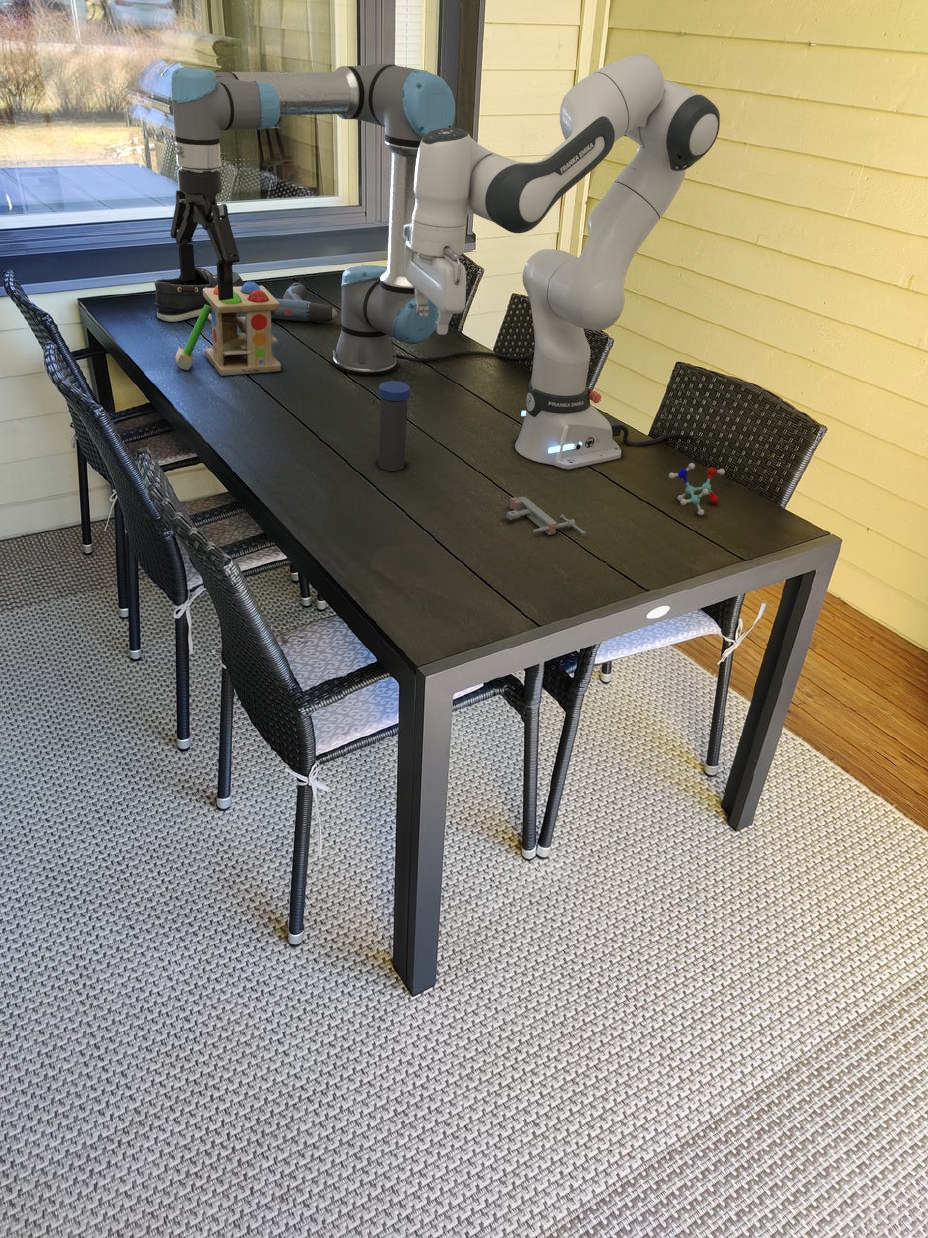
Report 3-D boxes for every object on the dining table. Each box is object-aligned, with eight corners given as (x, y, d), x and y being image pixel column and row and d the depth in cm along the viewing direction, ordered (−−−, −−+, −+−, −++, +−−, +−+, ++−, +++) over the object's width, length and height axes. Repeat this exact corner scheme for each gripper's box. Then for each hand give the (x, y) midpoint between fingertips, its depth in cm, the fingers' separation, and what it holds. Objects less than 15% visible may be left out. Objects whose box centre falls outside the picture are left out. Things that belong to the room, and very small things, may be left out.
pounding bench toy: (183, 379, 220) (176, 299, 210) (169, 357, 231) (162, 280, 221) (282, 371, 230) (280, 294, 220) (264, 350, 240) (262, 276, 230)
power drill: (344, 304, 276) (335, 327, 259) (277, 298, 275) (264, 321, 258) (344, 285, 273) (335, 306, 256) (277, 279, 272) (264, 300, 255)
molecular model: (729, 509, 182) (714, 457, 180) (679, 523, 185) (663, 472, 184) (733, 500, 192) (719, 451, 191) (686, 514, 196) (671, 466, 194)
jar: (388, 473, 191) (392, 395, 182) (373, 463, 194) (375, 386, 185) (409, 467, 194) (413, 390, 185) (393, 457, 197) (397, 382, 188)
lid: (391, 403, 182) (391, 394, 181) (373, 393, 185) (373, 384, 184) (415, 397, 185) (416, 388, 184) (397, 387, 189) (397, 379, 188)
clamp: (496, 500, 180) (542, 491, 184) (495, 510, 181) (540, 501, 185) (542, 538, 169) (588, 528, 174) (540, 549, 170) (586, 539, 175)
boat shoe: (262, 300, 274) (260, 262, 268) (174, 323, 250) (170, 282, 245) (229, 292, 279) (226, 254, 274) (139, 314, 256) (134, 273, 250)
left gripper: (145, 155, 179) (155, 274, 191) (217, 183, 164) (224, 310, 176) (182, 153, 183) (190, 269, 195) (256, 180, 169) (260, 304, 181)
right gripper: (479, 256, 153) (471, 343, 160) (434, 224, 168) (428, 305, 176) (441, 256, 150) (434, 345, 158) (399, 224, 166) (395, 306, 174)
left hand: (206, 289), depth 186 cm, fingers open, 13 cm apart
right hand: (431, 323), depth 167 cm, fingers open, 8 cm apart
